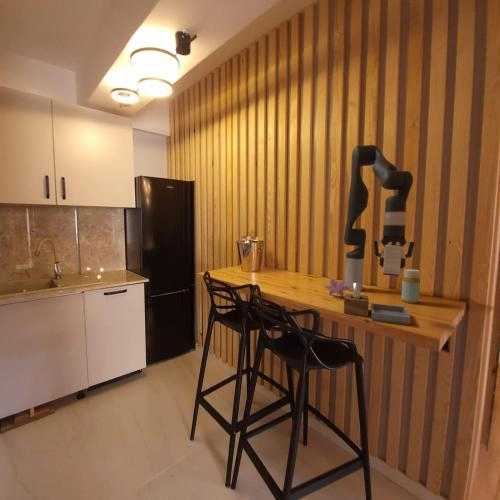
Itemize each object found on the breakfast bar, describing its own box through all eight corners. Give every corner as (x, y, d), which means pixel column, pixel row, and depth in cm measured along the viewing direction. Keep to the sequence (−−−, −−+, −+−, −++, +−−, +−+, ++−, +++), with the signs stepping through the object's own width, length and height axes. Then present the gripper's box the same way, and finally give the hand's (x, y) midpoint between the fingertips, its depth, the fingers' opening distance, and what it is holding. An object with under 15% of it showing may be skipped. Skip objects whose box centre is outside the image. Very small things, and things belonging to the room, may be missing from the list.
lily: (355, 301, 132) (353, 282, 136) (344, 296, 124) (342, 275, 128) (332, 304, 139) (331, 285, 143) (320, 299, 132) (319, 280, 136)
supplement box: (400, 276, 103) (401, 245, 102) (382, 274, 105) (384, 245, 104) (400, 274, 108) (401, 244, 107) (383, 272, 110) (384, 244, 109)
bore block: (345, 307, 119) (345, 293, 119) (367, 309, 116) (368, 295, 115) (343, 313, 111) (344, 298, 110) (367, 316, 108) (368, 301, 107)
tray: (370, 309, 116) (370, 302, 115) (404, 313, 111) (404, 306, 111) (371, 320, 103) (372, 312, 103) (409, 325, 99) (410, 317, 98)
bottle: (397, 300, 130) (399, 269, 128) (408, 299, 132) (410, 268, 131) (411, 304, 123) (413, 271, 122) (422, 303, 126) (424, 270, 124)
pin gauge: (352, 310, 115) (353, 282, 114) (359, 310, 114) (360, 282, 113) (352, 312, 113) (353, 283, 112) (359, 312, 112) (360, 284, 111)
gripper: (374, 224, 104) (371, 267, 105) (418, 224, 99) (415, 270, 100) (373, 224, 111) (371, 265, 112) (414, 224, 106) (411, 267, 107)
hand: (391, 267), depth 106 cm, fingers closed on supplement box, 6 cm apart
